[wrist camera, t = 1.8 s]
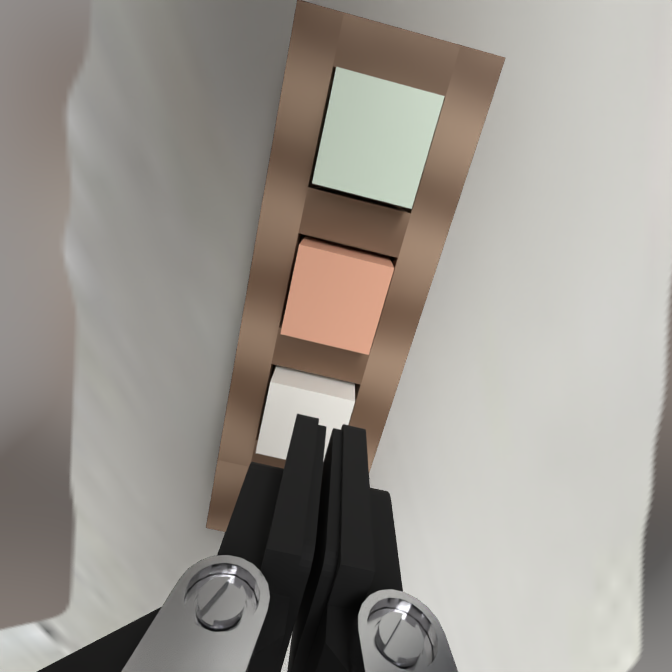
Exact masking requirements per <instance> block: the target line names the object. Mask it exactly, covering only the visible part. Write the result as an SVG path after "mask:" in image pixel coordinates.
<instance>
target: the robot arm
mask: <svg viewBox="0 0 672 672" xmlns="http://www.w3.org/2000/svg"><path fill="white" fill-rule="evenodd" d="M318 424H319V418H315V417H310V416H306V415H301V414H297V416H296V420H295V424H294V428H293V432H292V436H291V441H290V445H289V449H288V453H287V457H286V461H285V466H284V469H283V468H279V467H274V466H270V465H265V464H261V463H256V462H252V461H251V463H250V465H249V468H248V470H247V473H246V476H245V479H244V482H243V484H242V487H241V490H240V493H239V496H238V499H237V501H236V504H235V507H234V510H233V513H232V515H231V518H230V521H229V524H228V527H227V529H226V532H225V535H224V538H223V541H222V543H221V546H220V549H219V552H218V555H217V556H212V557H209V558H206V559H203V560H200V561H199V562H197V563H196V564H194V565H193V566H191V567H190V568H188V569H187V571H186V572H185V573H184V574H183V575H182V576H181V578H180V579H179V580H178V582H177V583H176V585H175V587H174V588H173V590H172V591H171V593H170V595H169V596H168V598H167V599H166V601H165V603H164V604H163V606H162V607H160V608H159V609H157V610H155V611H153V612H151V613H149V614H147V615H145V616H143V617H141V618H139V619H137V620H135V621H134V622H132V623H130V624H128V625H126V626H124V627H122V628H120V629H118V630H116V631H114V632H112V633H110V634H108V635H107V636H105V637H103V638H101V639H99V640H97V641H95V642H93V643H91V644H89V645H87V646H85V647H83V648H82V649H80V650H78V651H76V652H74V653H72V654H70V655H68V656H66V657H64V658H62V659H60V660H58V661H56V662H55V663H53V664H51V665H49V666H47V667H45V668H43V669H41V670H39V671H37V672H281V668H282V665H283V662H284V658H285V655H286V651H287V648H288V645H289V641H290V638H291V635H292V639H291V647H290V655H289V663H288V671H287V672H458V670H457V667H456V664H455V661H454V658H453V655H452V653H451V650H450V647H449V644H448V641H447V638H446V635H445V633H444V631H443V629H442V627H441V625H440V622H439V620H438V619H437V618H436V616H435V615H434V614H433V613H432V611H431V610H430V609H429V608H428V607H427V606H426V605H425V604H423V603H422V602H421V601H420V600H418V599H417V598H415V597H413V596H411V595H409V594H407V593H405V592H403V589H402V581H401V574H400V566H399V558H398V550H397V543H396V535H395V527H394V520H393V512H392V504H391V498H390V494H389V492H387V491H383V490H378V489H374V488H370V484H369V469H368V453H367V438H366V429H363V428H358V427H354V426H350V425H345V424H343V425H342V428H341V430H340V429H335V428H333V430H332V433H331V436H330V440H329V444H328V447H327V451H326V454H325V458H324V449H325V439H326V426H322V425H318ZM323 459H324V462H323ZM292 631H293V632H292Z"/></svg>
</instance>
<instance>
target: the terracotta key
mask: <svg viewBox="0 0 672 672" xmlns="http://www.w3.org/2000/svg"><path fill="white" fill-rule="evenodd" d="M393 271H394V266H393V264H392V262H391V260H390V258H389V257H387V256H383V255H379V254H375V253H371V252H367V251H363V250H359V249H355V248H351V247H347V246H343V245H339V244H335V243H331V242H327V241H323V240H319V239H315V238H311V237H307V236H305V237H304V239H303V240H302V241H301V243H300V244H299V248H298V252H297V257H296V262H295V267H294V272H293V276H292V281H291V286H290V291H289V295H288V300H287V305H286V310H285V315H284V319H283V324H282V329H281V334H282V335H286V336H291V337H295V338H299V339H303V340H308V341H312V342H316V343H320V344H324V345H329V346H333V347H337V348H341V349H346V350H350V351H354V352H358V353H362V354H367V355H369V352H370V349H371V346H372V342H373V339H374V335H375V332H376V329H377V325H378V322H379V318H380V315H381V312H382V308H383V305H384V301H385V298H386V295H387V291H388V288H389V284H390V281H391V278H392V274H393Z"/></svg>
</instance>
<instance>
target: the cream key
mask: <svg viewBox="0 0 672 672" xmlns="http://www.w3.org/2000/svg"><path fill="white" fill-rule="evenodd" d="M354 404H355V383H352V382H348V381H343V380H339V379H335V378H330V377H326V376H322V375H317V374H313V373H309V372H305V371H300V370H296V369H292V368H287V367H283V366H279V365H277V366H276V369H275V371H274V374H273V376H272V379H271V382H270V386H269V391H268V396H267V400H266V405H265V410H264V415H263V419H262V424H261V429H260V434H259V439H258V443H257V448H256V453H258V454H262V455H267V456H271V457H276V458H280V459H285V460H286V457H287V453H288V449H289V445H290V441H291V436H292V432H293V428H294V424H295V420H296V416H297V414H301V415H306V416H310V417H315V418H319V424H318V425H322V426H326V439H325V449H324V458H325V454H326V451H327V447H328V444H329V440H330V436H331V433H332V430H333V428H335V429H340V430H341V428H342V425H343V424H345V425H348V424H349V421H350V417H351V414H352V410H353V407H354ZM323 462H324V459H323Z"/></svg>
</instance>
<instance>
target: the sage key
mask: <svg viewBox="0 0 672 672" xmlns="http://www.w3.org/2000/svg"><path fill="white" fill-rule="evenodd" d="M444 97H445V96H442V95H438V94H435V93H431V92H427V91H424V90H420V89H416V88H413V87H409V86H405V85H402V84H398V83H394V82H391V81H387V80H383V79H380V78H376V77H372V76H369V75H365V74H361V73H358V72H354V71H350V70H347V69H343V68H339V67H336V71H335V76H334V81H333V85H332V90H331V95H330V100H329V105H328V109H327V114H326V119H325V124H324V128H323V133H322V138H321V143H320V148H319V152H318V157H317V162H316V167H315V171H314V176H313V181H312V183H313V184H317V185H321V186H324V187H328V188H332V189H336V190H340V191H344V192H348V193H352V194H356V195H359V196H363V197H367V198H371V199H375V200H379V201H383V202H387V203H391V204H394V205H398V206H402V207H406V208H410V209H412V206H413V203H414V199H415V196H416V192H417V189H418V186H419V182H420V179H421V175H422V172H423V169H424V165H425V162H426V158H427V155H428V151H429V148H430V145H431V141H432V138H433V134H434V131H435V128H436V124H437V121H438V117H439V114H440V111H441V107H442V104H443V100H444Z"/></svg>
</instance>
